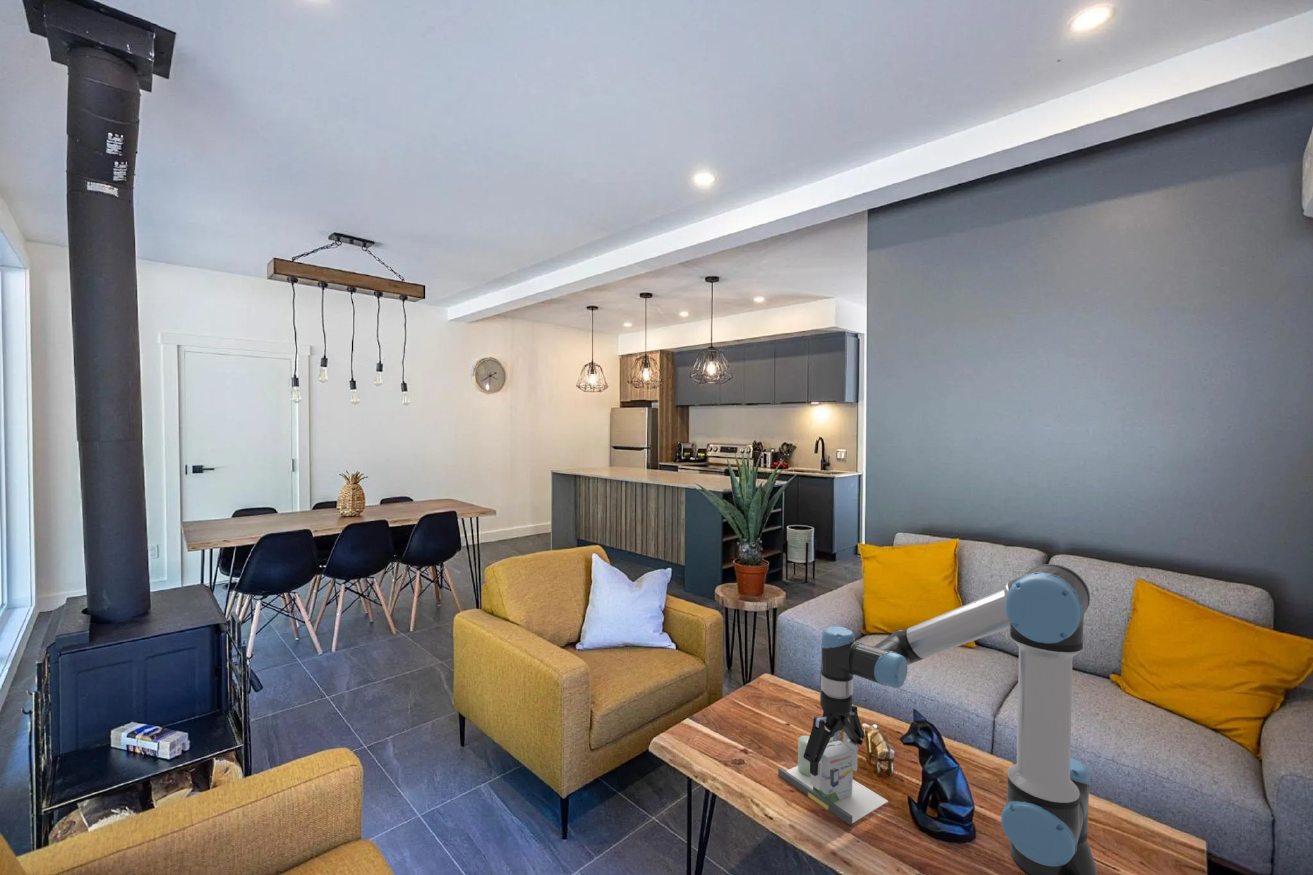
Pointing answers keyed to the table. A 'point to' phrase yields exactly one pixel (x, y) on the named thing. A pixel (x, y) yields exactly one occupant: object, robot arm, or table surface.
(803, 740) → the sage canister
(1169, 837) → the table surface
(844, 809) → the shelf board
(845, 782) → the ink box
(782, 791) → the table surface
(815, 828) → the table surface
